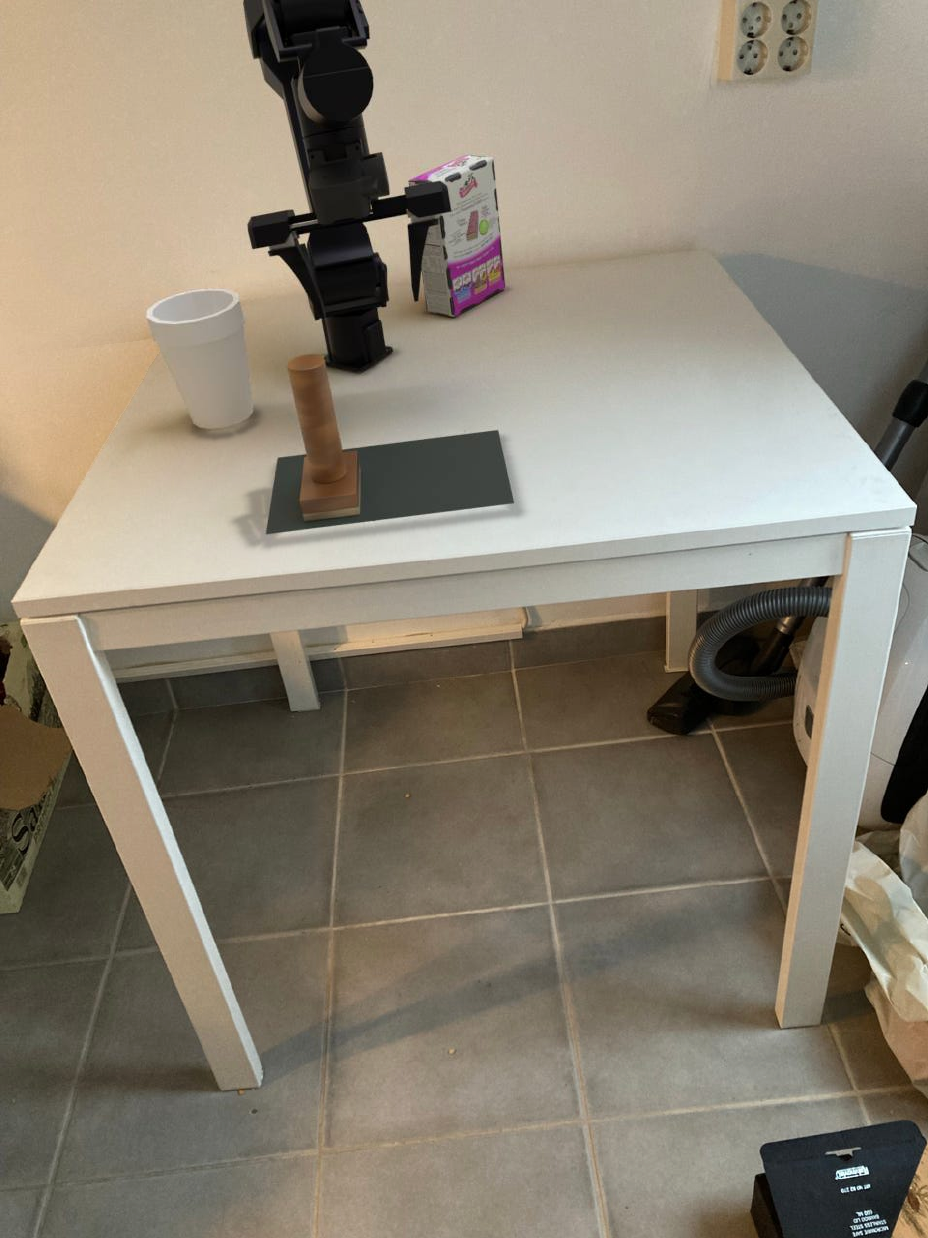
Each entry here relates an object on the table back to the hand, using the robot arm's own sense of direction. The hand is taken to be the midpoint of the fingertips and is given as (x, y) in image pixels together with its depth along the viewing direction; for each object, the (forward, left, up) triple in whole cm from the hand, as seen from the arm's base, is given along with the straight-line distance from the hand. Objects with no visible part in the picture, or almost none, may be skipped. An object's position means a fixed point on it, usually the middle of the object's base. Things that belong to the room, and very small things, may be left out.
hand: (370, 309), depth 95 cm
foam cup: (-17, -7, -12) cm, 22 cm away
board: (+8, -10, -12) cm, 18 cm away
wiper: (+6, -15, -11) cm, 20 cm away
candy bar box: (-12, +32, -12) cm, 36 cm away
